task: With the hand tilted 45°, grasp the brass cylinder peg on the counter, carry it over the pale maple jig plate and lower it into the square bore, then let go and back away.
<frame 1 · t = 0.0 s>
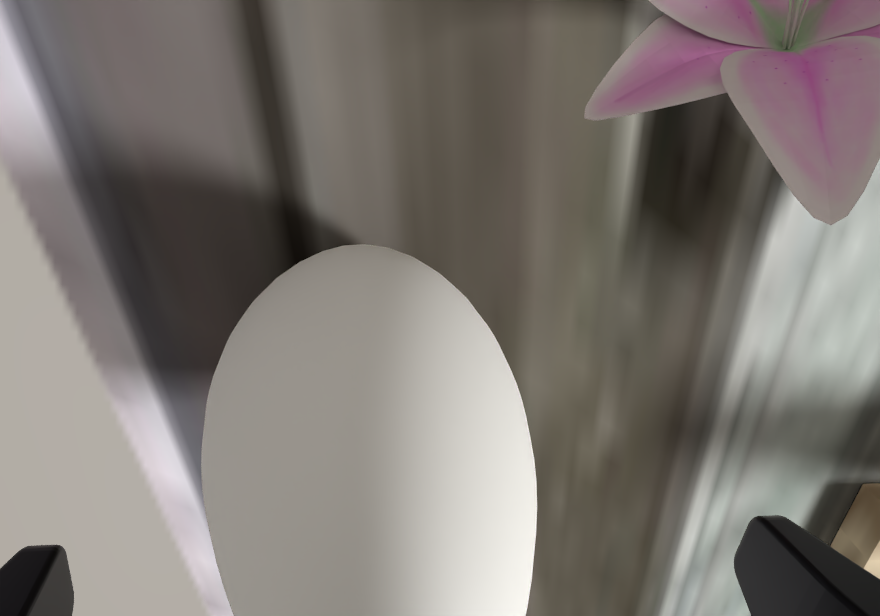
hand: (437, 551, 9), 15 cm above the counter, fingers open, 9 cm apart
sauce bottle: (352, 299, 24), on the counter
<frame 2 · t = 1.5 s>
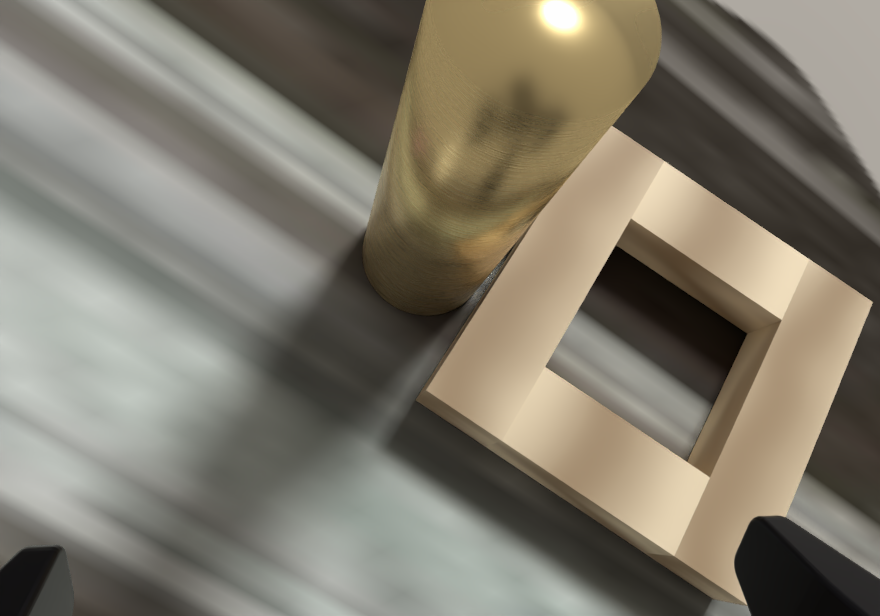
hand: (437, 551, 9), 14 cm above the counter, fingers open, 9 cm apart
jig: (641, 354, 26), on the counter
brass cylinder peg: (424, 255, 25), on the counter
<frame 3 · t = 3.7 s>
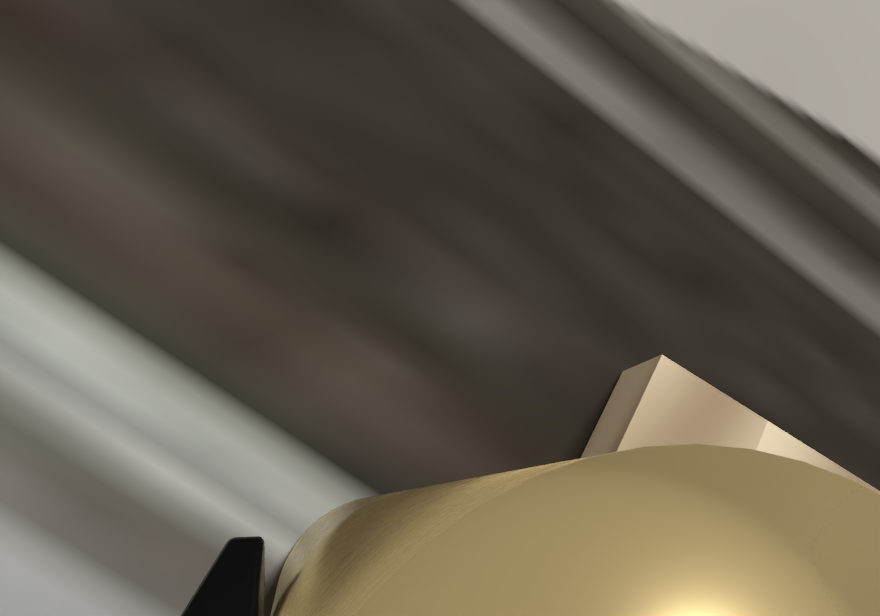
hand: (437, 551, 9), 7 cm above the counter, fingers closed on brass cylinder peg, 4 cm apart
brass cylinder peg: (380, 603, 15), on the counter, touching gripper
when the fingers open (8 cm above the counter, at t = 7.2 s): brass cylinder peg drops 1 cm, resting in jig.
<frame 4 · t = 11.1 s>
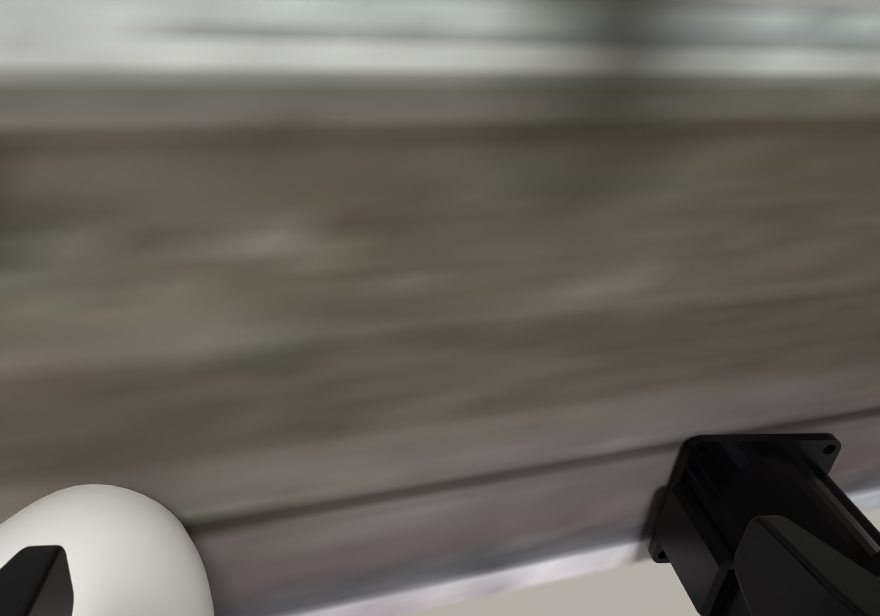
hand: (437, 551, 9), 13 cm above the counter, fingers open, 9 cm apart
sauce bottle: (113, 508, 25), on the counter
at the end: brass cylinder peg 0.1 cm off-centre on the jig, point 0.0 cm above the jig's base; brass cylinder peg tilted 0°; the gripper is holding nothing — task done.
